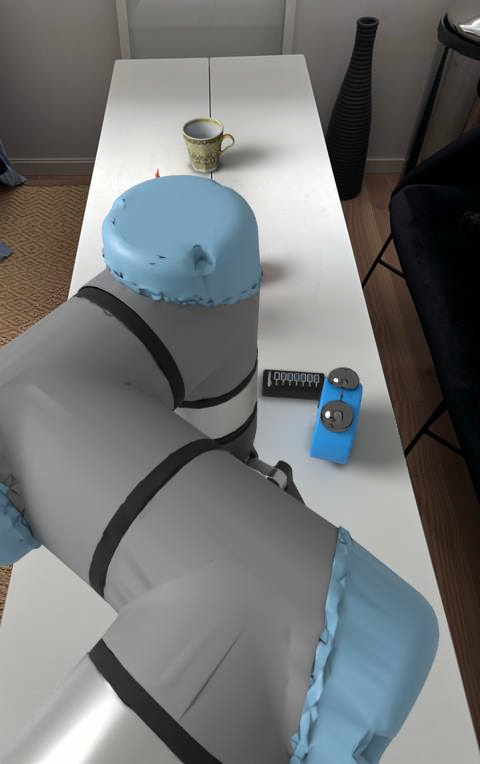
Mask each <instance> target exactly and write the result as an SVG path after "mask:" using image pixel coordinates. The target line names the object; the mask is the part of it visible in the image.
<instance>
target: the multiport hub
mask: <svg viewBox="0 0 480 764" xmlns="http://www.w3.org/2000/svg"><path fill="white" fill-rule="evenodd" d="M325 376H326V375H325V374H324V373H323V372H315V371H314V372H312V371H298V370H297V371H296V370H283V369H266V368H265V369H263V371H262V381H261V382H262V383H261V396H262V397H266V398H268V397H269V398H283V399H295V400H296V399H297V400H310V401H311V400H312V401H319V397H320V394H321V391H322V390H323V386H324V381H325V378H326V377H325Z"/></svg>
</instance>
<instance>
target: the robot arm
mask: <svg viewBox="0 0 480 764" xmlns="http://www.w3.org/2000/svg"><path fill="white" fill-rule="evenodd" d="M101 239H102V246H103V247H102V249H101V253H102V255H101V257H102V258H103V259H104V261H103V263H105V269H103V270H102V271H100V273H98V274H97V275H95V276H94V277H92V278H91V279H90V280H88V281H87V282H86V283H85V284H83V285H82V286H80V288H78V290H77V292H76V293H75V294H73V295H72V296H70V298H68V299H67V300H66V301H64V302H63V303H62V304H61V305H59V306H58V307H56V308H54V310H52V311H51V312H50V313H48V314H47V315H45V316H44V317H43V318H41V319H40V320H39V321H37V322H36V323H34V324H33V325H31V326H30V327H28V329H26V330H25V331H23V332H22V333H20V334H19V335H17V336H16V337H15V338H14V339H12V340H10V341H9V342H8V343H7V344H5V345H4V346H3V347H1V348H0V566H1V567H2V566H11V565H14V564H16V563H17V562H19V561H20V560H21V559H23V558H24V557H25V556H26V555H28V554H29V553H31V552H32V551H33V550H37V549H40V548H41V547H44V548H46V550H48V551H49V552H50V553H51V554H52V555H54V557H56V558H57V559H58V560H59V561H60V562H61V563H63V565H65V566H66V567H67V568H68V569H70V570H71V571H72V572H73V573H74V574H75V575H76V576H77V577H78V578H80V579H81V581H83V582H84V583H85V584H87V585H88V586H89V587H90V588H91V589H92V590H93V591H94V592H95V593H96V594H98V596H99V597H101V598H102V600H103V601H105V602H106V603H107V604H108V605H109V606H110V607H111V608H112V609H113V610H114V611H115V612H116V613H117V616H116V618H115V619H114V620H113V622H112V623H111V624H110V625H109V627H108V628H107V629H106V631H105V632H104V633H103V635H102V636H101V637H100V638H99V640H98V641H97V642H96V643H95V644H94V646H93V647H92V648H91V649H90V650H89V651H87V652H86V653H85V654H84V655H83V656H82V657H81V658H80V660H79V661H78V662H77V663H76V664H75V666H74V667H73V668H72V669H71V670H70V671H69V673H68V674H67V675H66V676H65V677H64V679H63V680H62V681H61V682H60V683H59V684H58V686H57V687H55V689H54V690H53V692H52V693H51V694H50V695H49V696H48V697H47V699H45V701H44V702H43V703H42V704H41V706H40V707H39V708H37V710H36V711H35V712H34V714H33V715H32V716H31V717H30V718H29V720H27V722H26V723H25V724H24V726H22V728H21V729H20V730H19V731H18V732H17V734H16V735H15V736H14V737H13V738H12V740H11V741H10V742H9V743H8V744H7V745H6V747H5V748H4V749H3V750H2V751H1V753H0V764H379V763H380V761H381V759H382V756H383V755H384V753H385V752H386V750H387V749H388V746H390V744H391V742H393V740H394V739H395V738H396V737H397V735H398V734H399V732H400V731H401V729H402V727H404V724H405V723H406V721H407V720H408V719H407V718H409V716H410V714H411V712H412V710H413V708H414V706H415V704H416V702H417V700H418V699H419V696H420V694H421V692H422V690H423V688H424V687H425V684H426V682H427V679H428V678H429V675H430V673H431V670H432V668H433V665H434V661H435V659H436V656H437V652H438V649H439V642H440V625H439V620H438V617H437V616H438V615H437V614H436V611H435V609H434V607H433V605H431V603H430V602H429V600H427V598H426V597H425V596H424V595H423V594H422V593H421V592H420V591H419V590H417V589H416V588H415V587H414V586H412V585H411V584H410V583H409V582H407V581H406V580H405V579H404V578H403V577H401V576H400V575H399V574H397V573H396V572H395V571H393V569H391V568H390V567H388V566H387V564H385V563H384V562H382V561H381V560H380V559H379V558H377V556H375V555H374V554H373V553H371V552H370V551H369V550H368V549H366V548H365V547H364V546H363V545H361V544H360V543H359V542H357V540H355V539H354V538H353V537H352V535H351V533H350V531H349V530H348V529H346V528H345V527H344V526H342V525H339V526H338V527H337V526H336V525H335V524H333V523H332V522H330V521H329V520H327V519H326V518H324V517H323V516H322V515H320V514H319V513H317V512H316V511H314V510H313V509H311V508H310V507H309V506H307V504H306V503H305V501H304V499H303V496H302V495H301V493H300V491H299V489H298V487H297V485H296V483H295V482H294V477H293V475H294V474H293V467H292V466H291V465H290V464H289V463H288V462H286V461H285V460H278V461H277V463H276V464H274V465H273V466H272V465H270V464H269V463H267V462H265V461H263V460H261V459H260V458H259V457H260V456H259V452H258V451H257V449H256V447H255V445H254V444H255V443H254V442H255V440H256V435H257V429H258V402H259V401H258V379H259V378H258V375H259V373H258V372H259V370H258V369H259V348H258V347H259V346H258V335H259V334H258V333H259V316H260V301H261V300H260V297H261V288H262V286H263V283H262V282H263V280H264V270H263V267H262V265H261V256H260V254H261V253H260V240H259V226H258V221H257V217H256V215H255V212H254V211H253V209H252V207H251V205H250V203H249V202H248V201H247V200H246V199H245V198H244V196H242V195H241V194H240V193H238V192H237V191H236V190H235V189H234V188H232V187H228V186H226V185H222V184H221V183H219V182H218V181H216V180H215V179H213V178H209V177H204V176H199V175H190V174H173V175H171V174H170V175H164V176H160V177H158V178H156V177H154V178H151V179H147V180H145V181H142V182H140V183H137V184H135V185H133V186H131V187H130V188H128V189H127V190H125V191H124V192H122V193H121V194H120V195H119V196H117V198H116V199H114V201H113V203H112V206H111V208H110V210H109V212H108V213H107V215H106V216H105V218H104V219H103V221H102V226H101Z"/></svg>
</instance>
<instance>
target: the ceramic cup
mask: <svg viewBox="0 0 480 764" xmlns="http://www.w3.org/2000/svg"><path fill="white" fill-rule="evenodd" d="M224 129H225V127H224V125H223V123H222V122H221V121H220V120H219V119H216V118H213V117H210V116H209V117H207V116H201V117H195V118H192V119H189V120H188V121H186V122H185V123H183V126H182V127H181V132H182V136H183V140H184V143H185V146H186V150H187V153H188V157H189V161H190V164H191V166H192V168H193V169H194V170H195V172H199V173H204V174H207V173H211V172H214V171H216V170H217V169H218V167H219V165H220V158H221V155H222V154H223V153H225V152H226V151H227V150H228V149H230V148H232V147H233V146H234V145H235V143H236V142H235V141H236V140H235V137H234V136H233V135H232V134H230V133H225V134H224ZM225 139H230V140H232V143H231V144H230V145H228V146H226V147H225V148H224V149H223V150H222V144H223V141H224V140H225Z"/></svg>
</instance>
